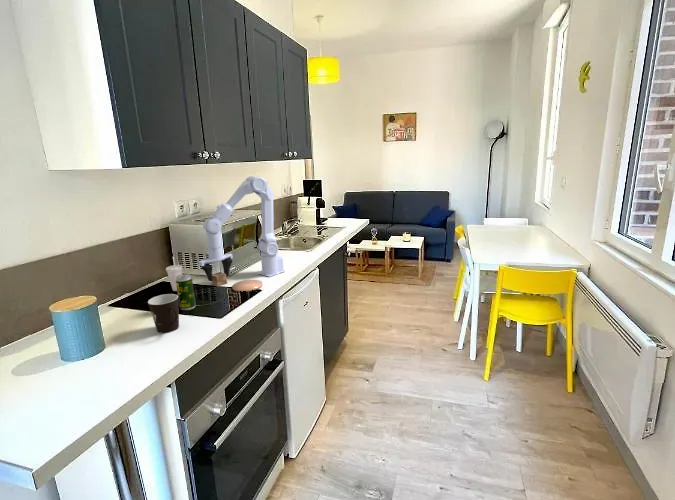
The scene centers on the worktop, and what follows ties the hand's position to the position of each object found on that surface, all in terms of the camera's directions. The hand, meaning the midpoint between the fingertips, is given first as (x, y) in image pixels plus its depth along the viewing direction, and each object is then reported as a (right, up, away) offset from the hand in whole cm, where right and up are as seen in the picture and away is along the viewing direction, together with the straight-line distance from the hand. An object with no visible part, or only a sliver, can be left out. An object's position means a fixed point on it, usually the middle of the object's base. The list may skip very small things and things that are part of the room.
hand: (218, 278), depth 154 cm
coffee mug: (-3, -14, -40) cm, 42 cm away
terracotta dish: (+13, -3, -4) cm, 14 cm away
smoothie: (-16, -5, -4) cm, 17 cm away
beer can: (-4, -9, -23) cm, 25 cm away
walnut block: (0, -3, +1) cm, 3 cm away
